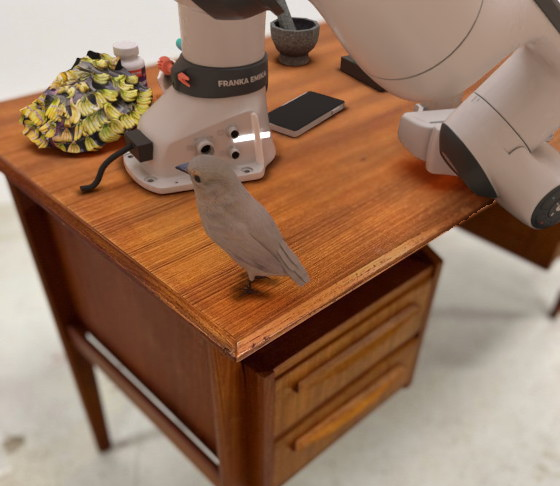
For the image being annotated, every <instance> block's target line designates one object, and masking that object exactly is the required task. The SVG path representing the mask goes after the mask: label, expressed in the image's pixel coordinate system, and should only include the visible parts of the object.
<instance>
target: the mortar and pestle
mask: <svg viewBox="0 0 560 486" xmlns="http://www.w3.org/2000/svg"><path fill="white" fill-rule="evenodd" d="M276 1H277V2H278V3H279V5H280V6H281V7H282V8H283V9H284V11H285V12H284V13H282V14H280V15H279V16H276V19H274V20H272V21H270V23H269V31H270V38H271V40H272V42H273V45H274V47H275V49H276V50H277V51H278V53H279V54H278V61H279V64H283V65H286V66H293V67H297V66H305V65H306V64H308V63H309V62H310V55H309V53H310V52H312V51H313V50H314V48H315V47H316V45H317V43H318V41H319V38H320V37H319V36H320V29H321V25H320V24H319V23H318V21H317V20H314V19H311V18H308V17H301V16H300V17H298V16H292V15H291V12H290V9H289V7H288V4H287V1H286V0H276Z"/></svg>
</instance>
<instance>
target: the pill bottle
mask: <svg viewBox="0 0 560 486" xmlns="http://www.w3.org/2000/svg"><path fill="white" fill-rule="evenodd" d="M139 49H140V48H139V44H138V43H137V42H135V41H131V40H121V41H117V42H114V43H113V44H112V51H113V55H114V57H120V59H121V65H122V66H123V67H124V68H125V69H126V70H127V71H129V72H130V73H132V74H134V75H136V76H137V77H138V79H139V82H140V83H141V84H142V85H144V86H146V87H149V85H148V78H147V70H146V62H145V60H144V58H143V57H141V56H139V55H140V50H139Z"/></svg>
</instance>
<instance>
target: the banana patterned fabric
mask: <svg viewBox="0 0 560 486" xmlns="http://www.w3.org/2000/svg"><path fill="white" fill-rule="evenodd" d="M37 97H38V98H36V99H35V100H33V101H32V102H31V103H29V104H27V105H26V106H24V107H22V108H20V109H18V110H19V112H20V118H19V120H18V123H19V124H20V125H23V127H24V129H23V130H22V131H21V134H22V135H23V136H25V137H26V138H28V139H29V140H30V141H31V143H34V144H35V145H36V146H37V149H59V150H61V151H63V152H64V153H72V154H78V153H95V152H97V151H99V150H102V148H104V147H105V146H106V145H107V144H109V143H114V142H118V141H119V139H121V137H124V132H127V131H131V130H136V129H137V125H138V121H139V118H140V117H141V115H142V114H143V113H144V112H145V111H146V110H147V109H149V108H150V107H151V106H152V104H153V99H154V93H153V88H151V87H149V86H148V87H146V86H144V85H142V84H141V83H140V82H139V79H138V77H137V76H136V75H134V74H132V73H130V72H129V71H127V70H126V69H125V68H124V67H123V66H122V65H121V59H120V57H116V56H114V57H113V56H111V54H109V53H106V52H103V53H102V52H97V51H94V50H90V49H89V50H87V52H86V56H85V55H84V56H82V57H79V56H78V57H76V58H75V61H74V63H73V64H72V66H71V68H69V69H68V70H65V71H61V72H59V73H58V74H57V76H56V77H55V78H54V79H53V81H52V83H50V85H49V86H48V87H47V88H46V89H45V90H44V91H43V92H42V93H41V94H40V95H39V96H37Z"/></svg>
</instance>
